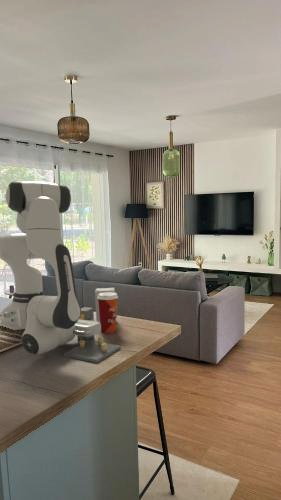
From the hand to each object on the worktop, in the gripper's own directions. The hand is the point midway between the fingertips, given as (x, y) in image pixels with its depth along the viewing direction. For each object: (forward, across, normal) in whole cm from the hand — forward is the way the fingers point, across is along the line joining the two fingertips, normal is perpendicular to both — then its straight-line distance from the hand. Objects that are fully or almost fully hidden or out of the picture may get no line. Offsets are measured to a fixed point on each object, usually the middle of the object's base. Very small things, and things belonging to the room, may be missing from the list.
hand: (86, 320), depth 138 cm
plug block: (-1, 0, +6) cm, 7 cm away
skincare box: (+19, +4, +7) cm, 21 cm away
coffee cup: (+10, -3, +7) cm, 13 cm away
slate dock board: (-12, -11, +7) cm, 18 cm away
